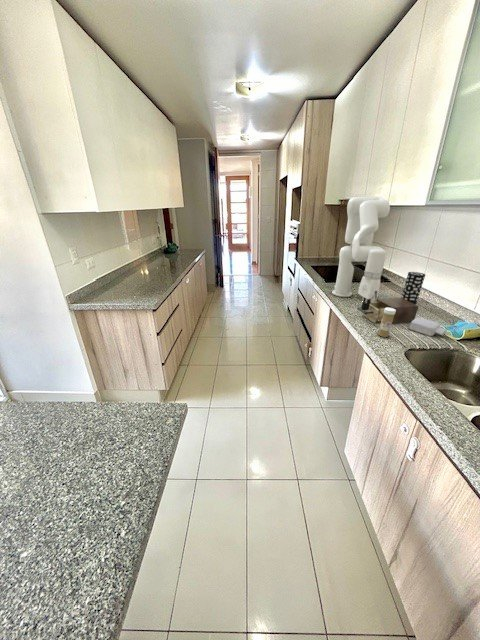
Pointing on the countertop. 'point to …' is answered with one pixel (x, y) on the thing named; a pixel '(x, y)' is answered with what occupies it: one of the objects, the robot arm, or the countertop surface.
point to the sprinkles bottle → (386, 322)
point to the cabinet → (401, 309)
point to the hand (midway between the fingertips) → (364, 309)
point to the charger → (427, 327)
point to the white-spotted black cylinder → (413, 286)
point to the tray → (374, 311)
